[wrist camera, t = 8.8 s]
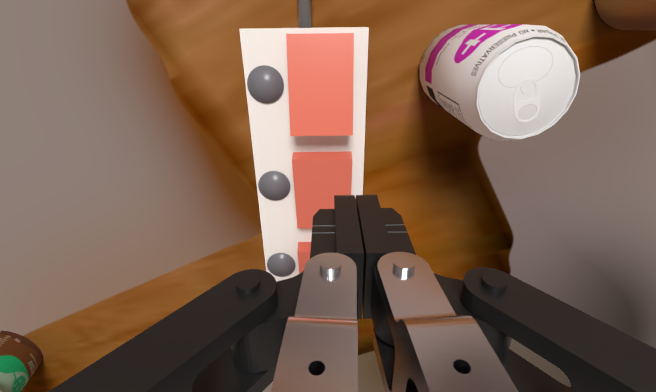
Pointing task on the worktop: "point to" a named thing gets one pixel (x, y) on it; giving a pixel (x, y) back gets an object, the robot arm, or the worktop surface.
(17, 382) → the food container
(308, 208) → the rocker middle
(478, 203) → the worktop surface
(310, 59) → the rocker
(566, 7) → the worktop surface
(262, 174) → the power strip
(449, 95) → the supplement can
